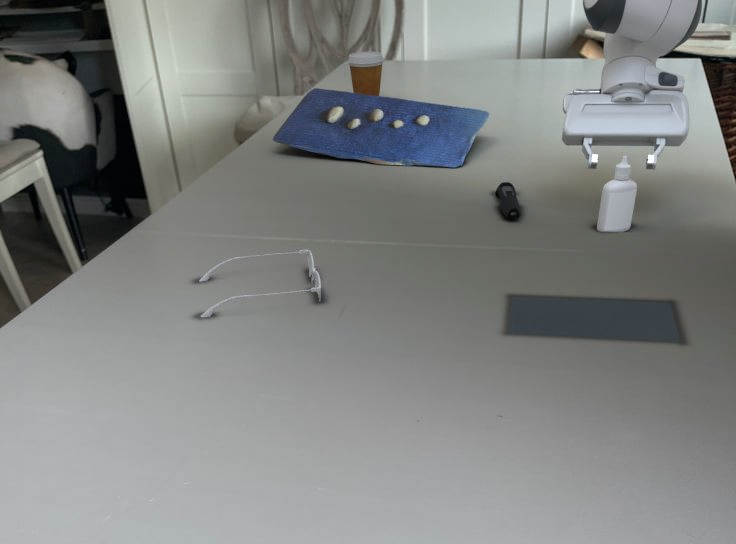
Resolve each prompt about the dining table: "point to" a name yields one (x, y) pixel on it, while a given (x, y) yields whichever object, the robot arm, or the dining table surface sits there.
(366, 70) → the disposable coffee cup
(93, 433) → the dining table surface
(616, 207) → the eye dropper bottle
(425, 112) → the mat
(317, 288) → the eyeglasses
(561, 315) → the mat
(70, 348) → the dining table surface
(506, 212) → the electric trimmer
